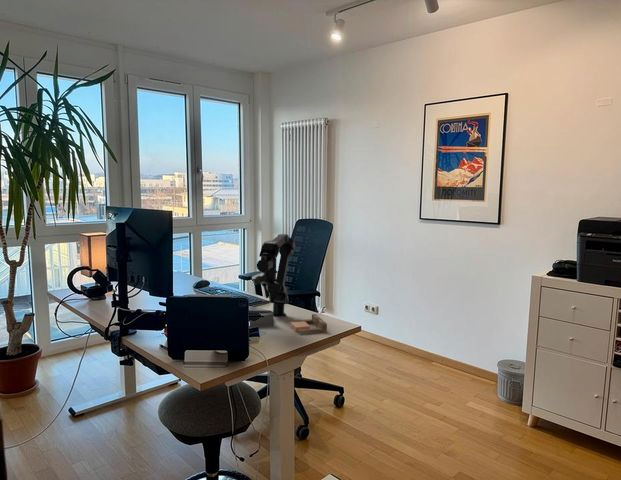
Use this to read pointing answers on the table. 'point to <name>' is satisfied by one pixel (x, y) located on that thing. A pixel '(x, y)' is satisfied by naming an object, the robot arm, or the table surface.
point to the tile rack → (316, 321)
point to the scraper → (264, 320)
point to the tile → (299, 326)
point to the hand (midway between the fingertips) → (269, 300)
